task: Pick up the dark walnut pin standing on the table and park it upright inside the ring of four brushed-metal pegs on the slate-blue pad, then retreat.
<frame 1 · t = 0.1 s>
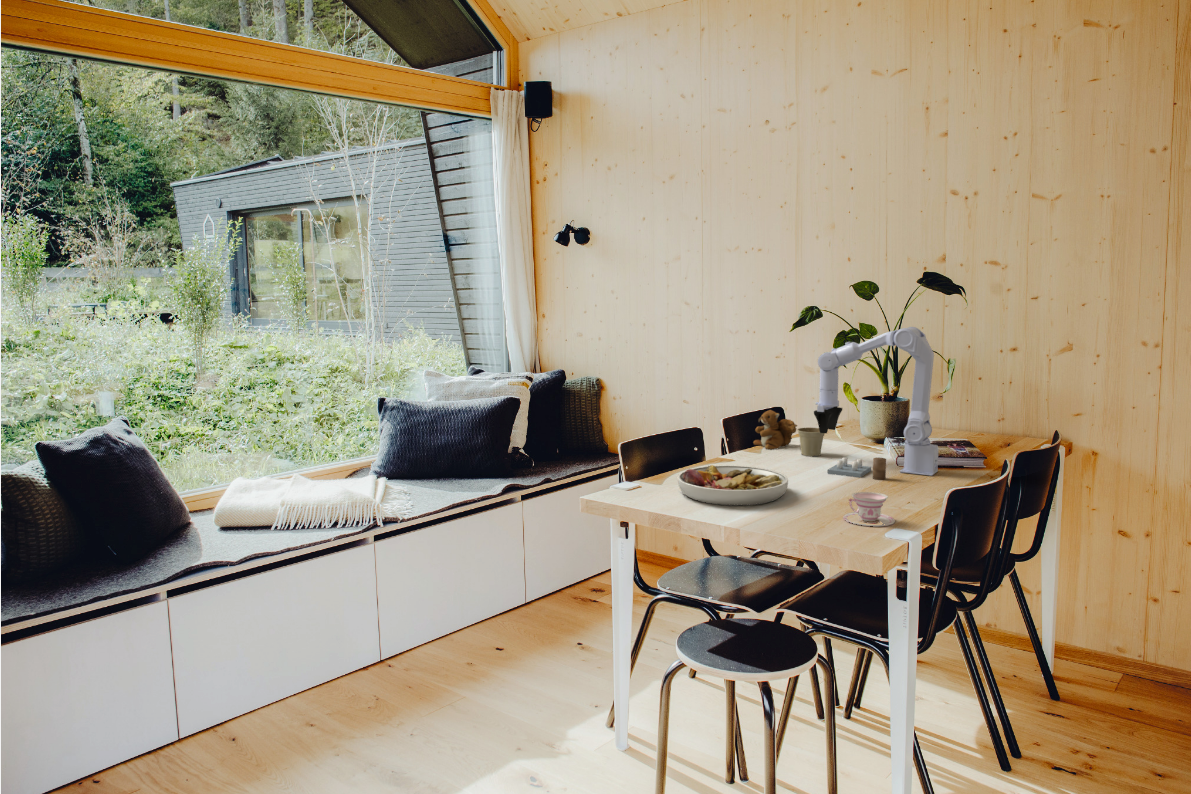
hand: (827, 431, 265), 10 cm above the table, fingers open, 7 cm apart
stuffed squirrel: (775, 447, 294), on the table
peg pad: (849, 472, 252), on the table
bowl: (732, 495, 227), on the table
flower pot: (810, 455, 278), on the table
teacup: (868, 521, 200), on the table
walnut pin: (879, 478, 243), on the table
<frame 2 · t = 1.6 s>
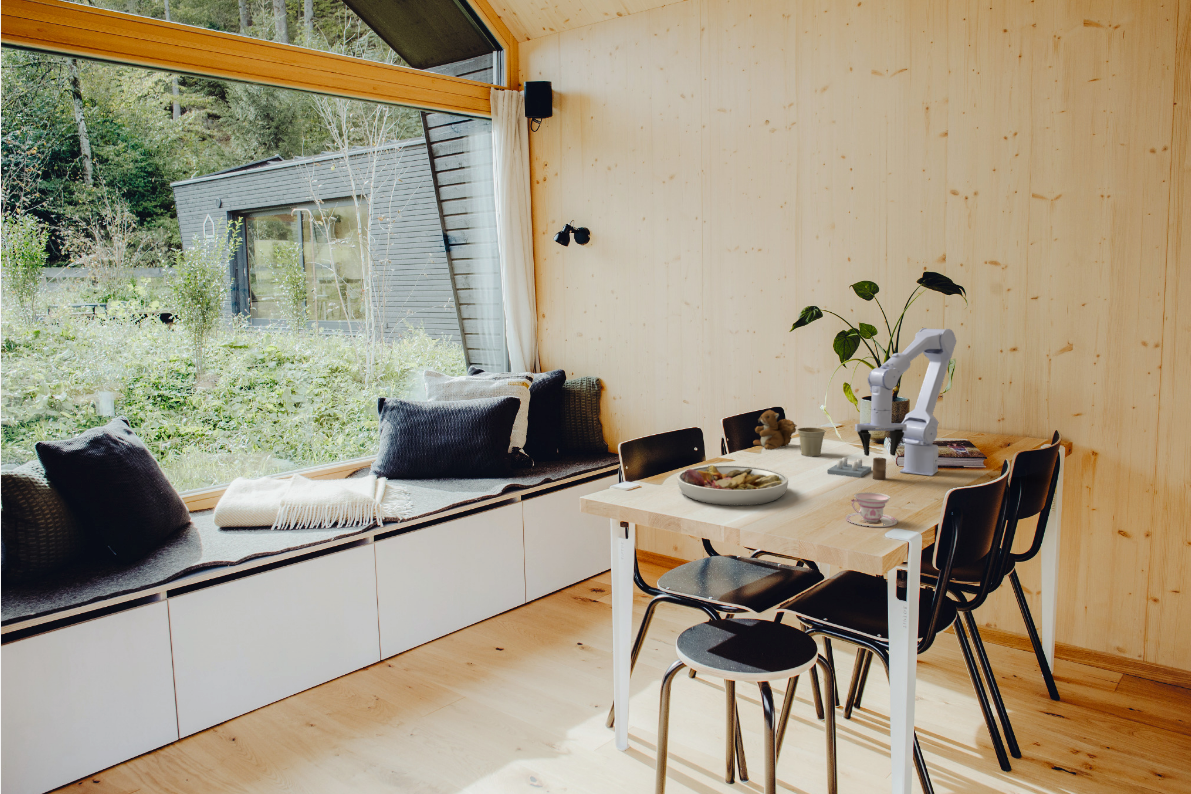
hand: (879, 455, 242), 7 cm above the table, fingers open, 7 cm apart
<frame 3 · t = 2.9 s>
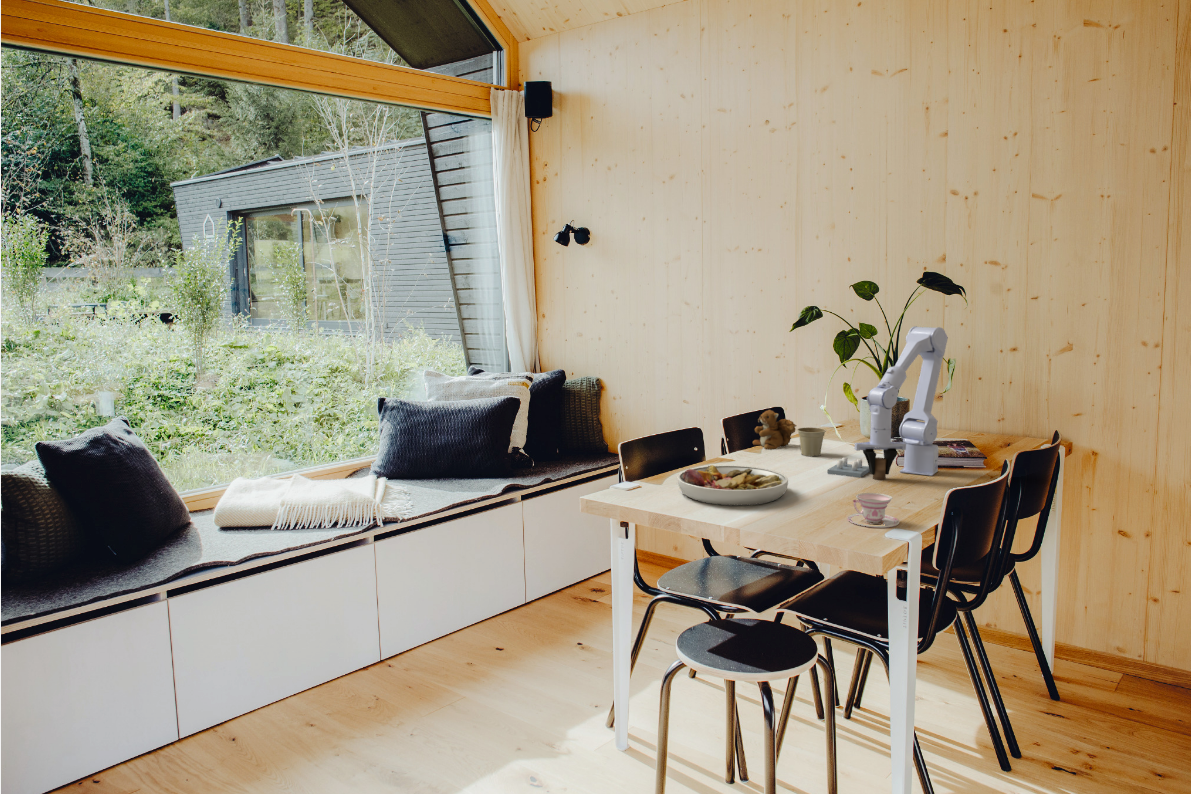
hand: (879, 473, 243), 1 cm above the table, fingers closed on walnut pin, 4 cm apart
walnut pin: (879, 478, 243), on the table, touching gripper
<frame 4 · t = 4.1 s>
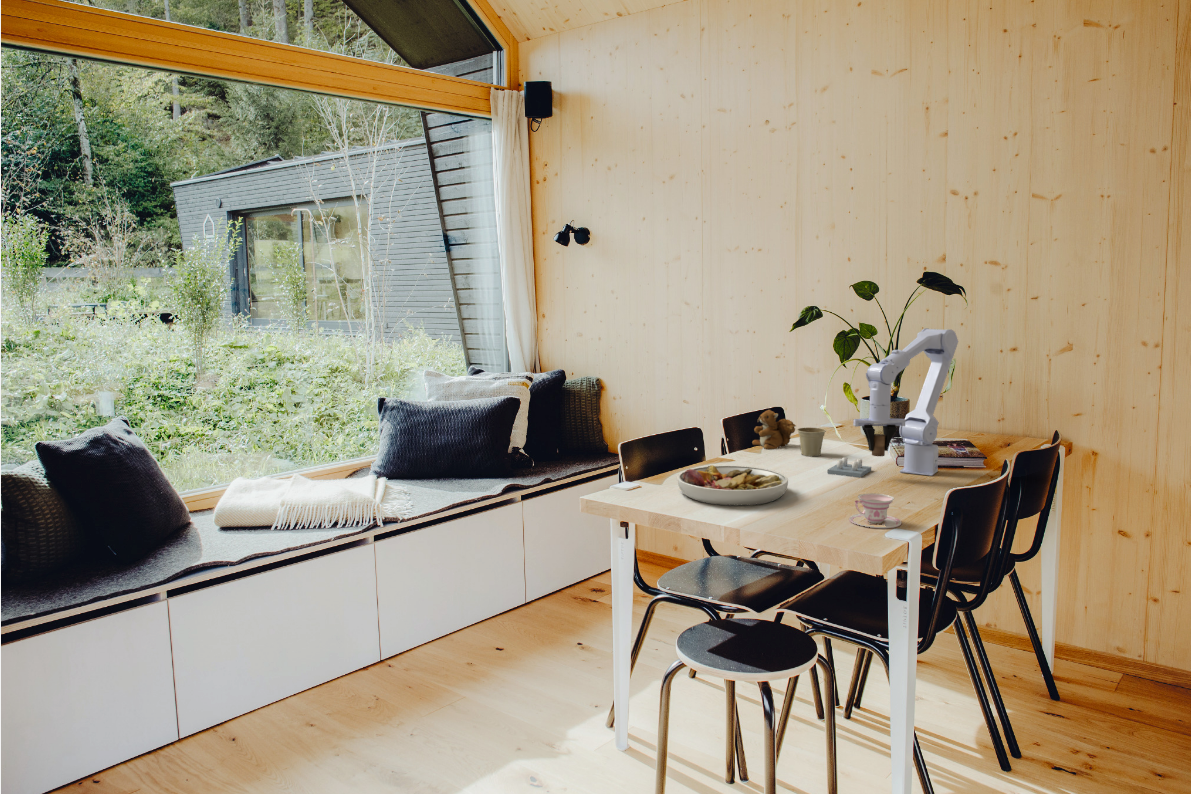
hand: (878, 450, 242), 8 cm above the table, fingers closed on walnut pin, 4 cm apart
walnut pin: (878, 455, 242), point 7 cm above the table, touching gripper
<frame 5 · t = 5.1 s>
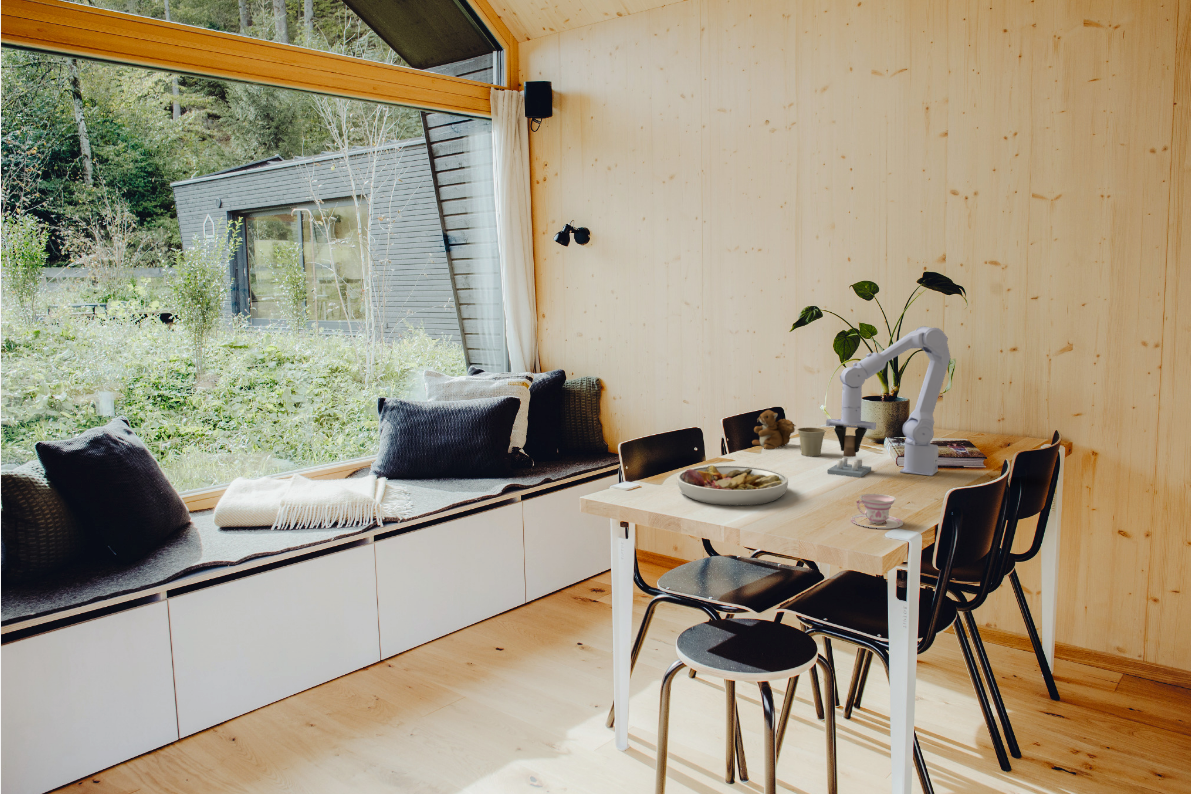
hand: (849, 451, 251), 7 cm above the table, fingers closed on walnut pin, 4 cm apart
walnut pin: (849, 455, 251), point 5 cm above the table, touching gripper
when the fingers open (4 cm above the table, at t = 5.8 s): walnut pin drops 2 cm, resting on peg pad.
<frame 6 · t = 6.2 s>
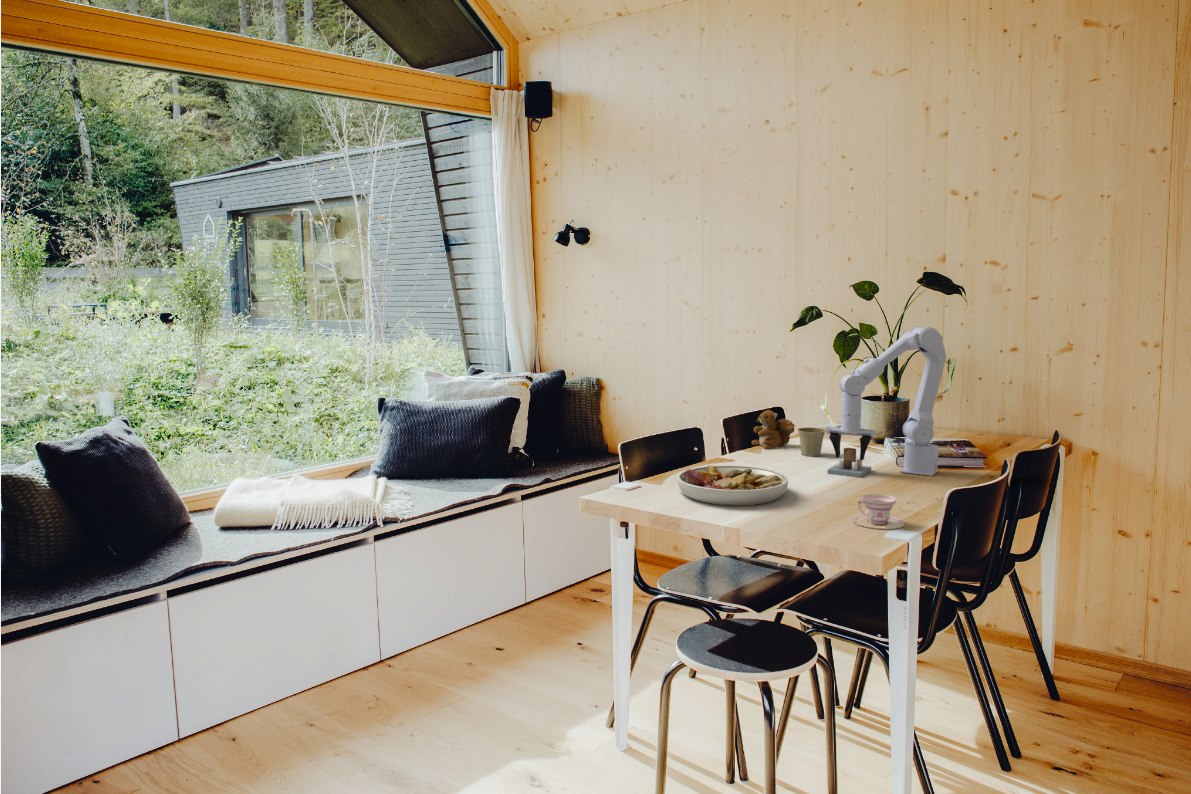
hand: (849, 458, 251), 4 cm above the table, fingers open, 7 cm apart
walnut pin: (849, 468, 251), point 1 cm above the table, touching peg pad
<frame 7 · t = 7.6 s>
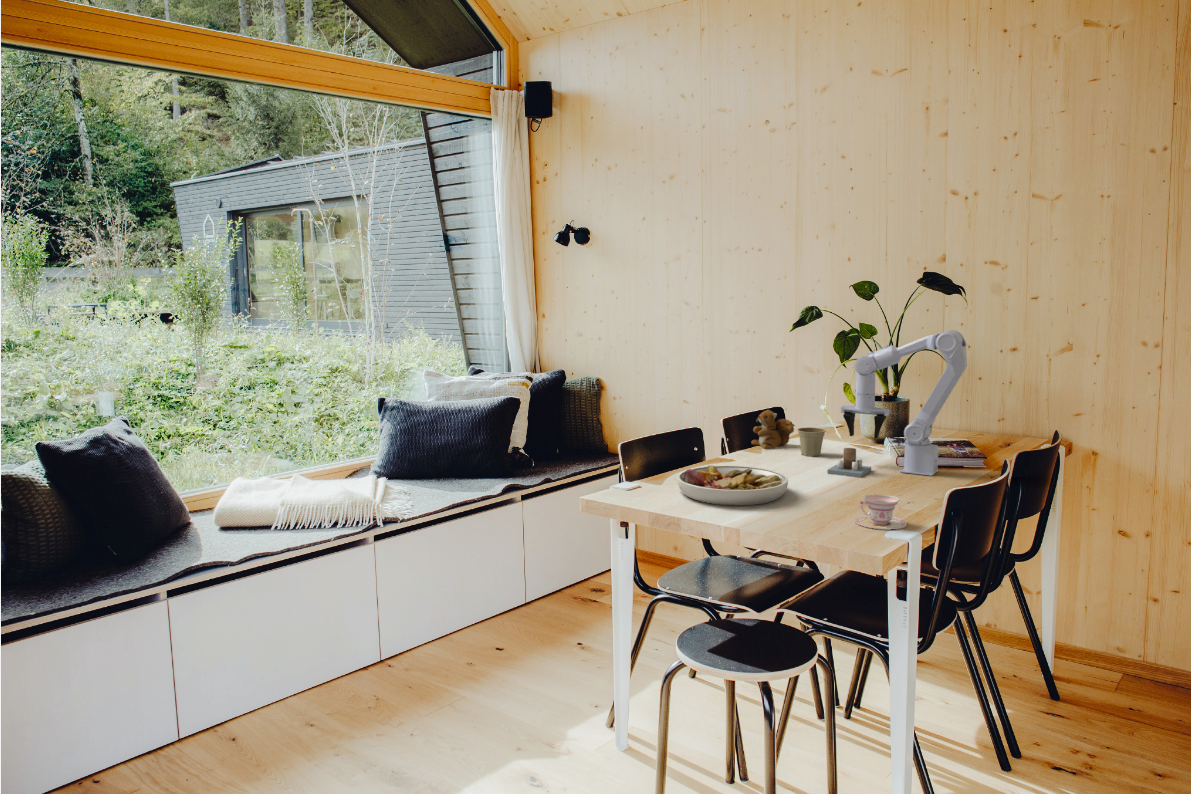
hand: (863, 436, 259), 9 cm above the table, fingers open, 7 cm apart
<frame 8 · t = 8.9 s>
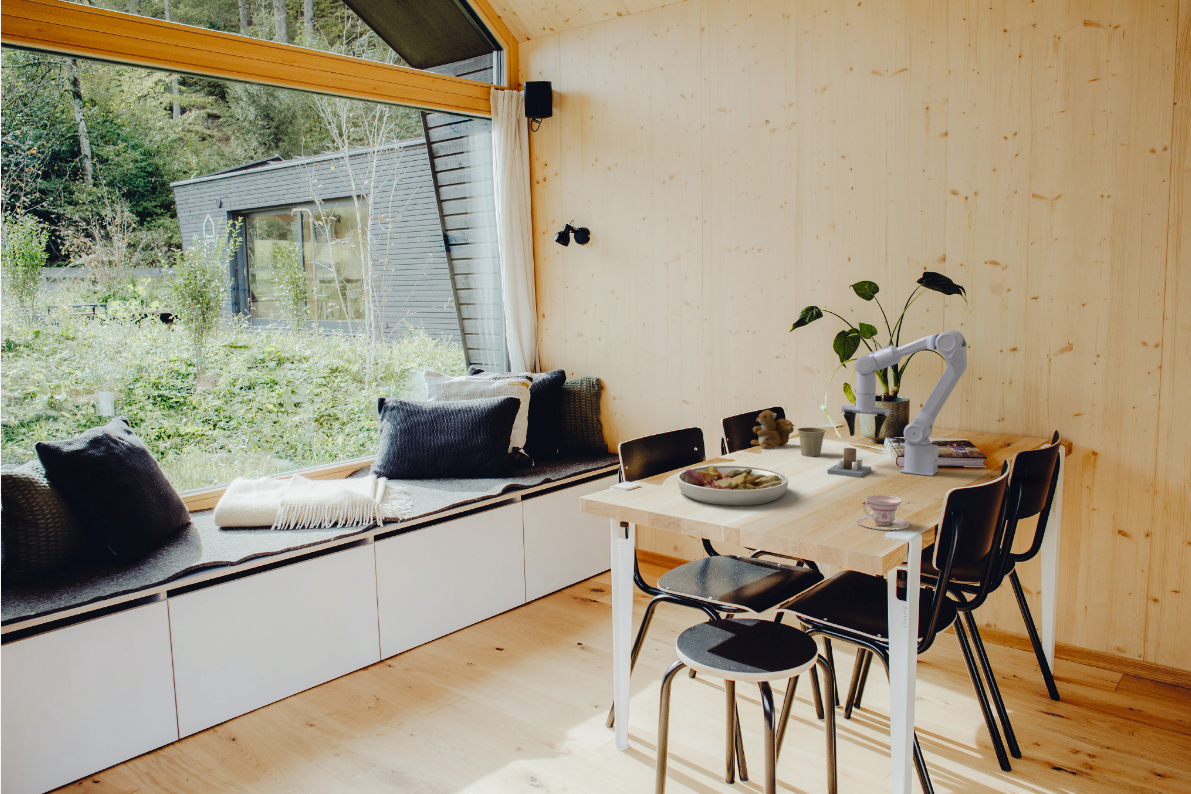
hand: (864, 436, 259), 9 cm above the table, fingers open, 7 cm apart
at the end: walnut pin 0.2 cm off-centre on the peg pad, point 1.2 cm above the peg pad's base; walnut pin tilted 0°; the gripper is holding nothing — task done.
